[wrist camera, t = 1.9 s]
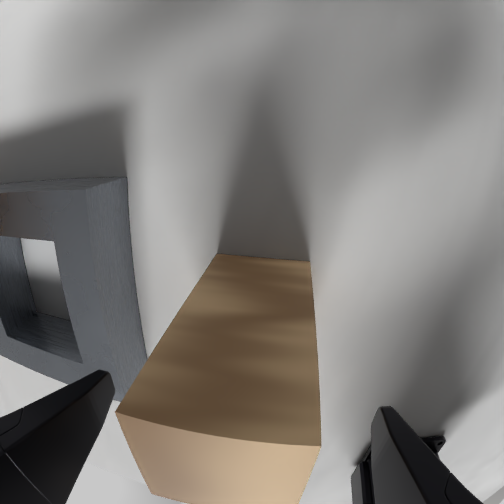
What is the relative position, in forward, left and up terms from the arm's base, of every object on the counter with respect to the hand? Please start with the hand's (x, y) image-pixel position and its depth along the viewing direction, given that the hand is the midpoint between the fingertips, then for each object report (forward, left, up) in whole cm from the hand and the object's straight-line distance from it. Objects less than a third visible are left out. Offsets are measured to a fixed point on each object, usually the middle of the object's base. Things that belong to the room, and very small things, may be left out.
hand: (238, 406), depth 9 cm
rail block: (+13, 0, -7) cm, 14 cm away
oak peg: (0, 0, -7) cm, 7 cm away
